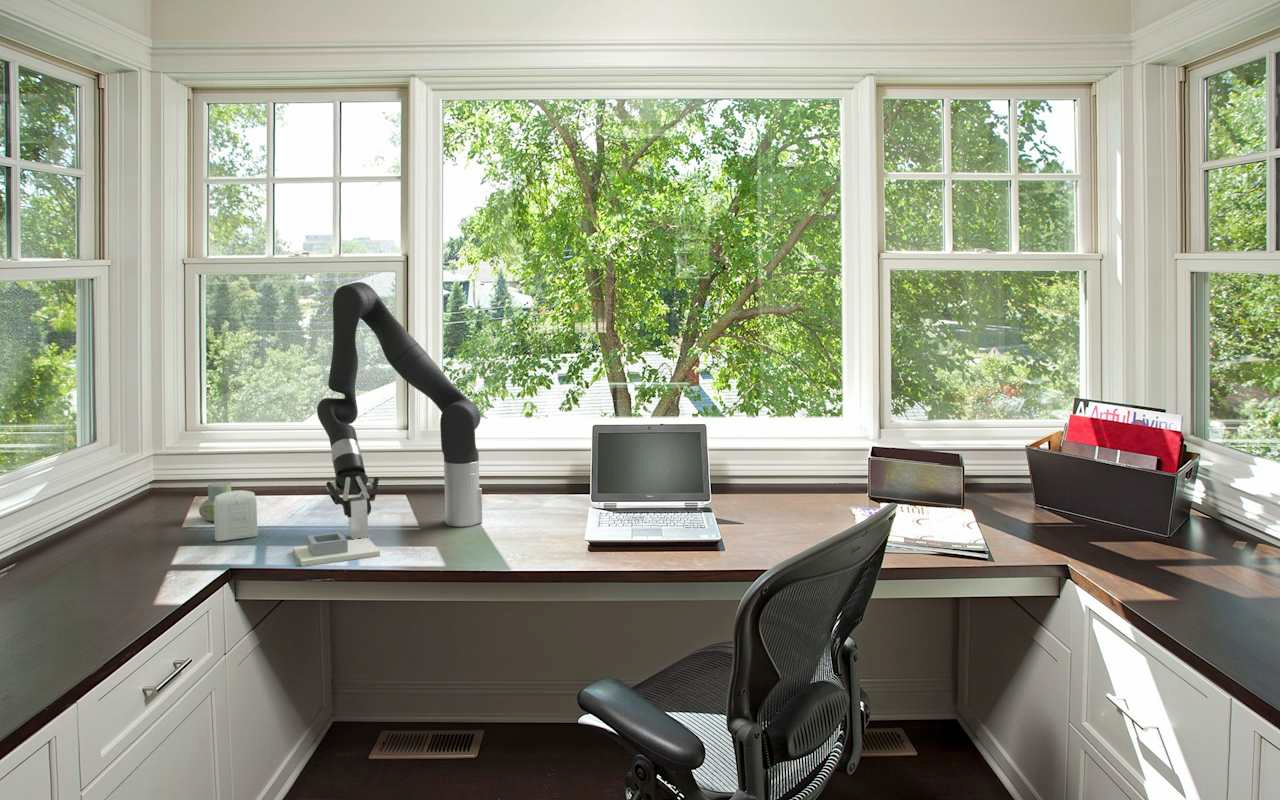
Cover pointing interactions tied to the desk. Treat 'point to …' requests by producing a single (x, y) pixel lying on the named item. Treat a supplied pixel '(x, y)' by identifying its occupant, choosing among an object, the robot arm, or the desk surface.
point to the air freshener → (208, 506)
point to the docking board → (333, 549)
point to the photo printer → (235, 515)
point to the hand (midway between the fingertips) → (358, 514)
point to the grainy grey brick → (358, 518)
